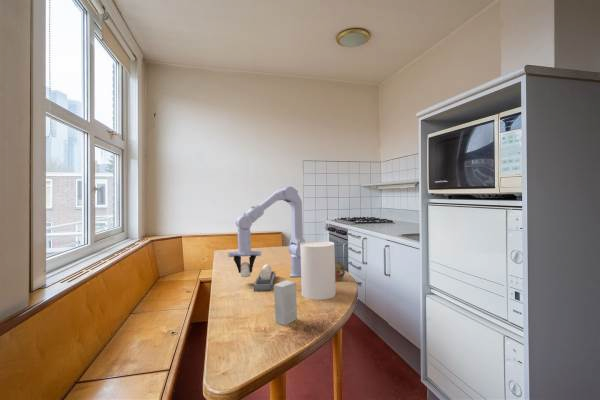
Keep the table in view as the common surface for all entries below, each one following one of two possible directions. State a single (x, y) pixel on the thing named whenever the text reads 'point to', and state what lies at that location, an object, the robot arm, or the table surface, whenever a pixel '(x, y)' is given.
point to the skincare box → (285, 302)
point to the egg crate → (265, 279)
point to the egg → (245, 269)
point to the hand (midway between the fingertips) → (245, 272)
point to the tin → (339, 271)
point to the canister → (318, 270)
